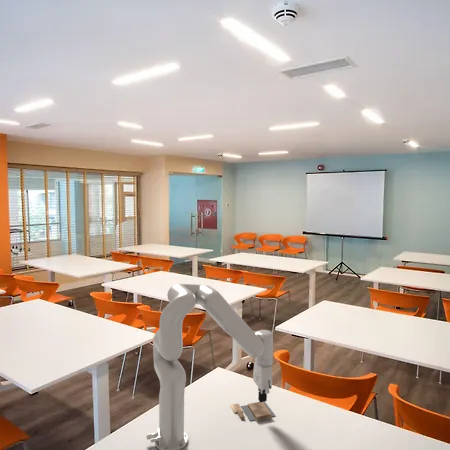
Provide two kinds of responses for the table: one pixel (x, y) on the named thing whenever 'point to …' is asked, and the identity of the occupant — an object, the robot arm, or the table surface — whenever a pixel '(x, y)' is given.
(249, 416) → the mat
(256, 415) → the brown wooden block
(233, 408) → the turner
